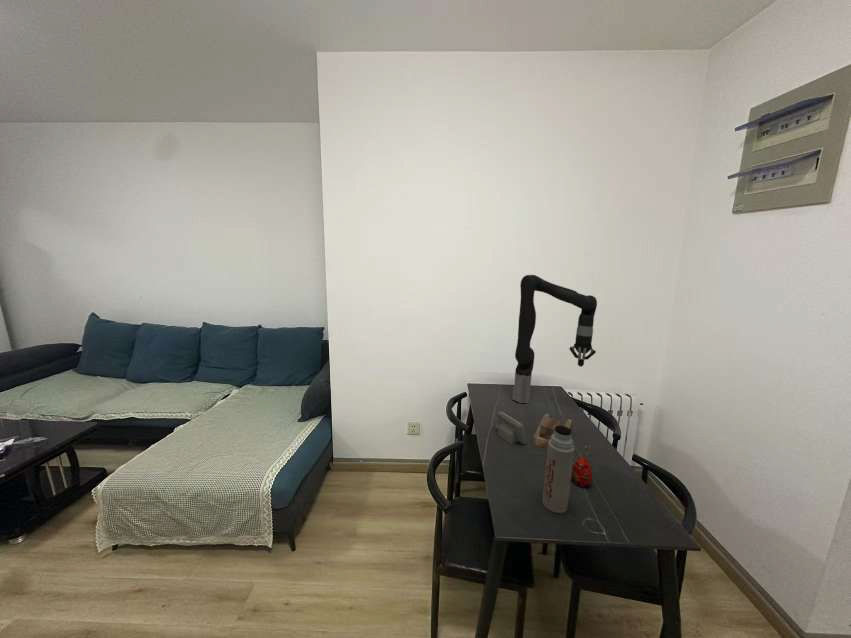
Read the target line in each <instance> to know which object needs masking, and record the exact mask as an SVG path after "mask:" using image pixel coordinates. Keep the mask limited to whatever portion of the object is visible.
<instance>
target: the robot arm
mask: <svg viewBox="0 0 851 638" xmlns="http://www.w3.org/2000/svg"><path fill="white" fill-rule="evenodd" d="M519 288H520V303H519V314H518V328H517V329H518V330H517V342H516V347H515V352H514V353H515V354H514V356H515V360H516V362H517V365H516V367H515V372H514V384H513V385H512V395H511V396H512V398H511V399H514V400H515V401H517V402H521V403H526V402H530V395H531V385H532V383H531V382H532V373H533V370H534V364H535V351H534V350H533V349H534V348H532V347H531V341H532V339H533V338H532V337H533V334H534V332H535V328H536V321H537V310H536V307H535V301H534V298H535V292H540V293H544V294H547V295H549V296H550V297H553V298H555V299H557V300H558V301H562V302H565V303H568V304H570V305H573V306H575V307H577V308H579V309H581V310H580V314H579V316H578V323H577V327H576V332H575V333H576V335H575V343H574V344H573V345H572V346H570V347H569V351H570V352H571V354H572V355H573V357H574V358H576V359H577V365H578V367H579V368H580V367H584V365H585V360H589V359H590V358H591V357H592V356H594V355H595V354H596V349H594V348H593V346H592V342H593V334H594V321H595V314H596V310H597V306H598V301H597V298H596V296H594V295H591V294H589V295H586V294H583V293H579V292H577V291H576V290H574V289H572V288H568V287H564V286H562V285H561V286H560V285H557V284H555V283H552V282H549V281H547V280H545V279H544V278H542V277H539V276H538V275H535V274H525V275H524V276H523V277H522V279H521V280H520V287H519ZM577 353H578V354H577ZM588 353H589V354H588ZM586 354H588V355H586ZM515 401H514V402H515ZM517 402H516V403H517Z"/></svg>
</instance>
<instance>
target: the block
mask: <svg viewBox="0 0 851 638" xmlns="http://www.w3.org/2000/svg"><path fill="white" fill-rule="evenodd" d="M561 422H562V421H561V420H558V419H554V418H551V417H550V416H549V417H548V418H547V419H546V420H545V421H544V422H543V423H542V424H541V425H540V424H539V425H540V435H539V437H542V438H545V439H549V440H550V439H551V436H552V435H553V434H554V433H555V427H556V426H561Z"/></svg>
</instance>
